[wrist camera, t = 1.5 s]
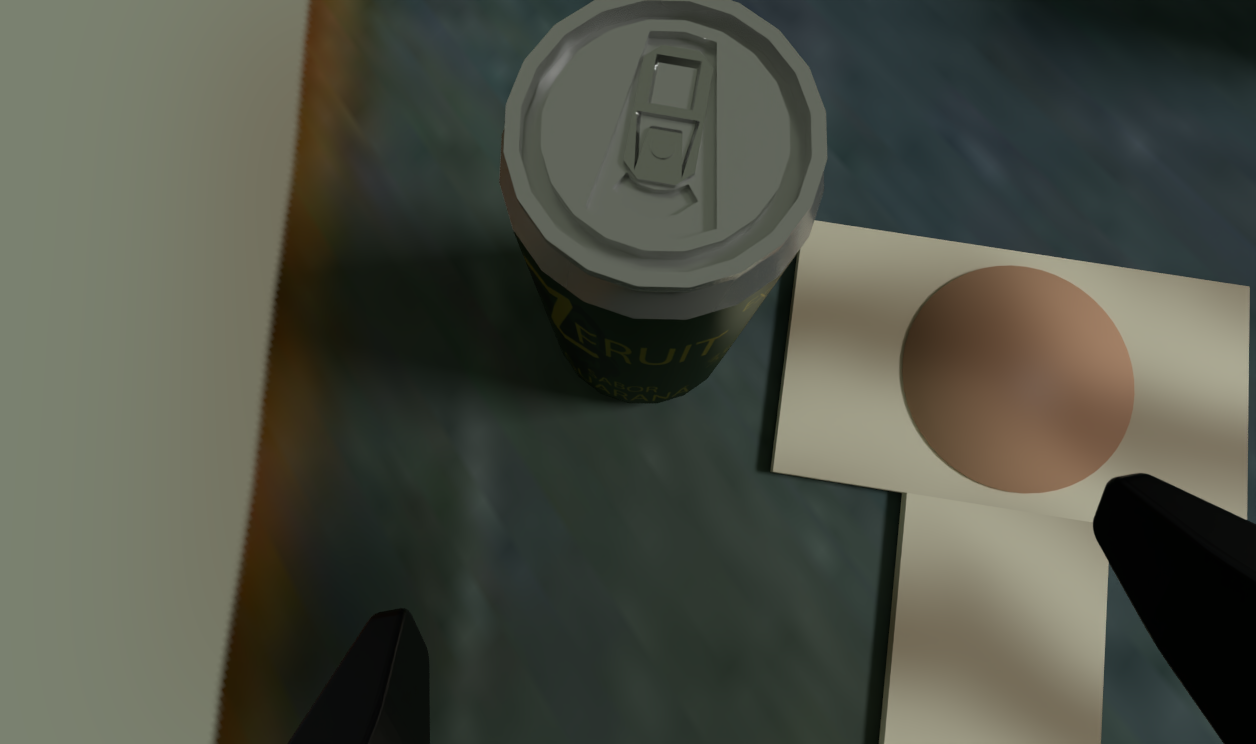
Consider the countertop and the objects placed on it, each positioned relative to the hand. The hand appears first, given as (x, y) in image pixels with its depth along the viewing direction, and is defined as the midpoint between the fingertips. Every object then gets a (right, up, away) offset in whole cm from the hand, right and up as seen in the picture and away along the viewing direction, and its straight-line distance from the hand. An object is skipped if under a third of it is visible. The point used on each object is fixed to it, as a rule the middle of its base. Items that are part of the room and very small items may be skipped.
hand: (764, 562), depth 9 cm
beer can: (-1, +4, +14) cm, 14 cm away
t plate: (+9, -2, +13) cm, 16 cm away
